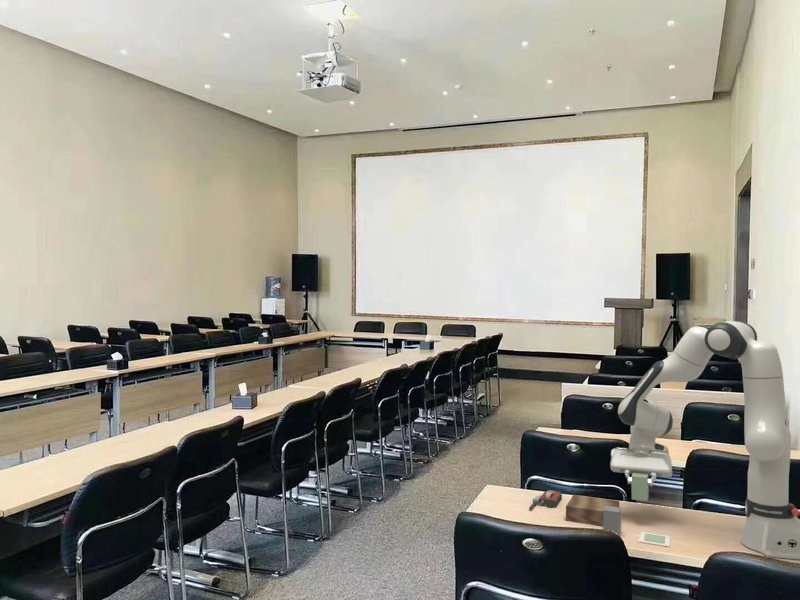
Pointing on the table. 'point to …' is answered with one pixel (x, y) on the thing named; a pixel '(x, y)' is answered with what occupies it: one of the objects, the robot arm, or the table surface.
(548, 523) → the table surface
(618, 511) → the grey block
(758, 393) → the robot arm
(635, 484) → the sage block
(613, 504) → the walnut plinth
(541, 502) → the walkie-talkie
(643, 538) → the swatch
